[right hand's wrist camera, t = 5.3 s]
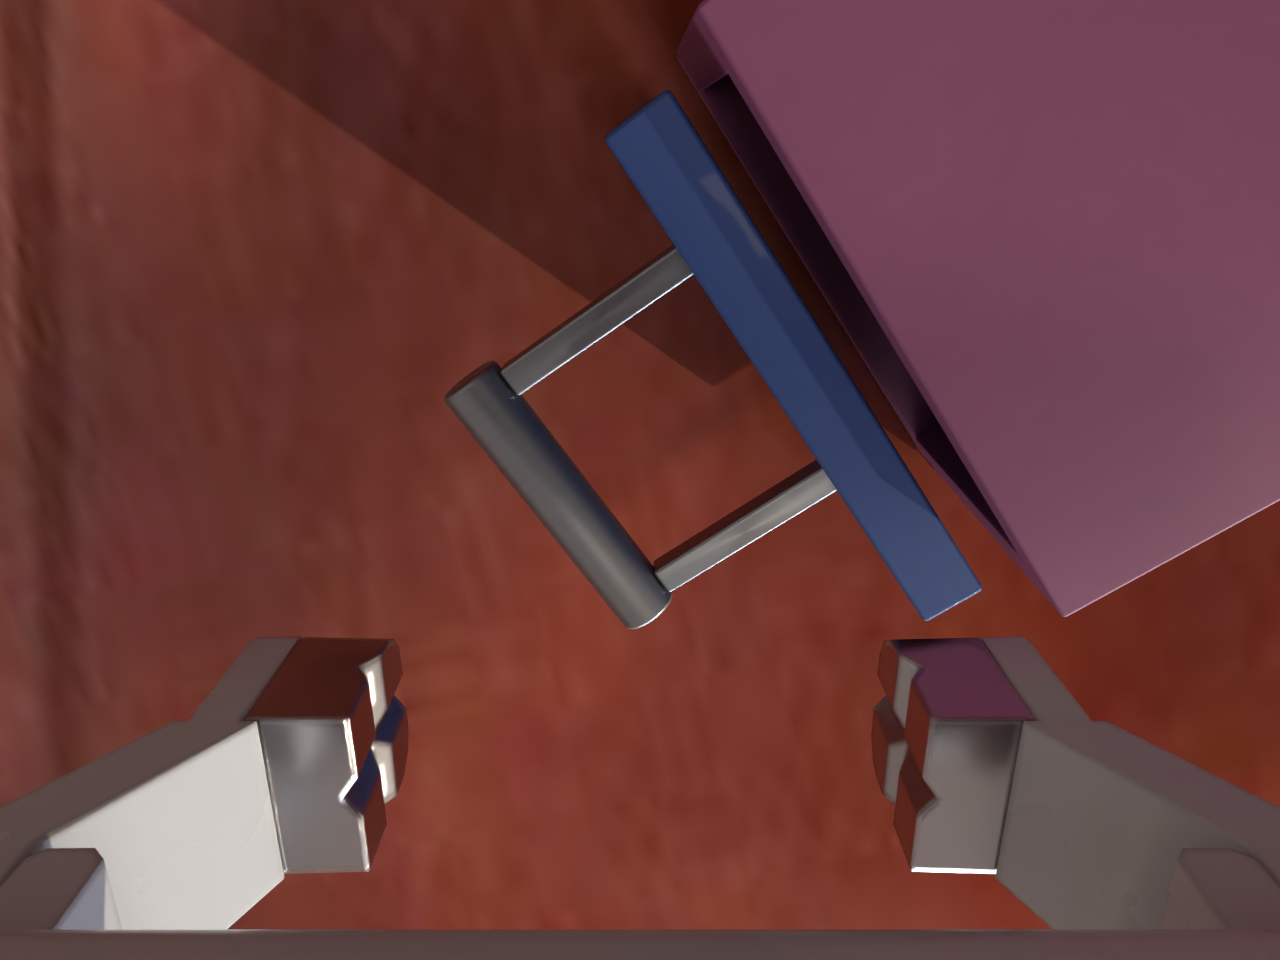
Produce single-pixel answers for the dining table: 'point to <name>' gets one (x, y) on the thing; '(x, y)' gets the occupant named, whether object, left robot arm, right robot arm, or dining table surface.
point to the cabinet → (1036, 247)
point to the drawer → (780, 351)
